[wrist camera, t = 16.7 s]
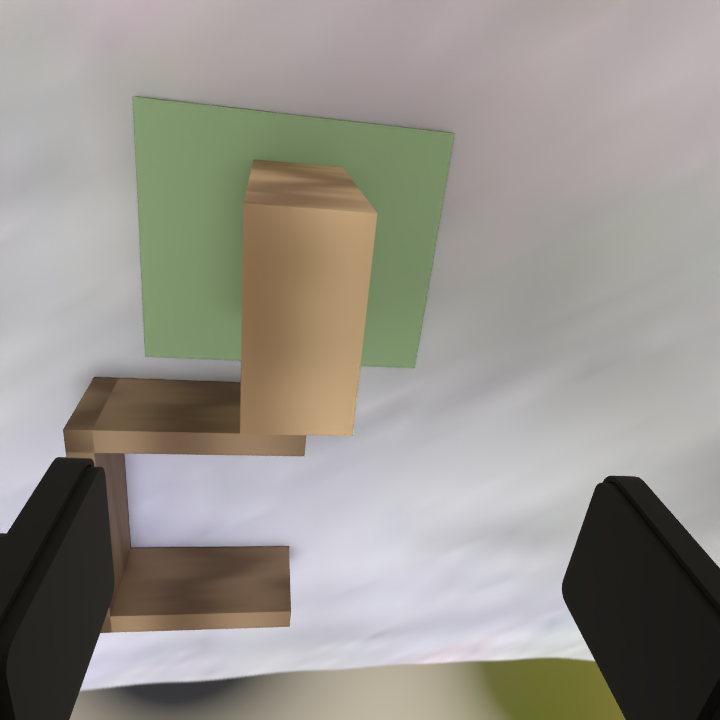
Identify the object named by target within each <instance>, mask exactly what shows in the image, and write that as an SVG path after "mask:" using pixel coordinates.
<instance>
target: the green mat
mask: <svg viewBox="0 0 720 720" xmlns="http://www.w3.org/2000/svg"><path fill="white" fill-rule="evenodd" d="M133 114H134V135H135V155H136V176H137V196H138V217H139V237H140V258H141V278H142V299H143V319H144V340H145V357H164V358H187V359H210V360H234V361H241V330H242V254H243V202H244V198H245V194H246V189H247V185H248V181H249V177H250V173H251V168H252V164H253V160H254V159H255V160H267V161H278V162H290V163H301V164H313V165H324V166H336V167H343V168H344V170H345V171H346V172H347V174H348V175H349V176H350V178H351V179H352V180H353V181H354V183H355V184H356V185H357V187H358V188H359V189H360V191H361V192H362V193H363V195H364V196H365V197H366V199H367V200H368V201H369V203H370V204H371V205H372V207H373V208H374V209H375V211H376V212H377V221H376V230H375V239H374V248H373V257H372V266H371V275H370V284H369V294H368V303H367V312H366V321H365V330H364V339H363V348H362V357H361V366H373V367H397V368H415V363H416V357H417V351H418V345H419V339H420V333H421V328H422V322H423V316H424V310H425V304H426V298H427V292H428V286H429V281H430V275H431V269H432V263H433V257H434V251H435V245H436V239H437V234H438V228H439V222H440V216H441V210H442V204H443V198H444V192H445V187H446V181H447V175H448V169H449V163H450V157H451V151H452V145H453V140H454V133H450V132H441V131H433V130H424V129H415V128H406V127H398V126H389V125H380V124H371V123H363V122H354V121H345V120H336V119H328V118H319V117H310V116H301V115H293V114H284V113H275V112H266V111H258V110H249V109H240V108H231V107H223V106H214V105H205V104H197V103H188V102H179V101H170V100H162V99H153V98H144V97H133Z"/></svg>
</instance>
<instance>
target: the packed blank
mask: <svg viewBox="0 0 720 720" xmlns="http://www.w3.org/2000/svg"><path fill="white" fill-rule="evenodd" d="M376 221H377V212H376V211H375V209H374V208H373V207H372V205H371V204H370V203H369V201H368V200H367V199H366V197H365V196H364V195H363V193H362V192H361V191H360V189H359V188H358V187H357V185H356V184H355V183H354V181H353V180H352V179H351V178H350V176H349V175H348V174H347V172H346V171H345V170H344V168H343V167H336V166H324V165H313V164H301V163H290V162H278V161H267V160H255V159H254V160H253V164H252V168H251V173H250V177H249V181H248V185H247V189H246V194H245V198H244V202H243V254H242V330H241V405H240V434H244V435H336V436H353V429H354V420H355V411H356V402H357V393H358V384H359V375H360V366H361V357H362V348H363V339H364V330H365V321H366V312H367V303H368V294H369V284H370V275H371V266H372V257H373V248H374V239H375V230H376Z"/></svg>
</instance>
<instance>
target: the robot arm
mask: <svg viewBox="0 0 720 720" xmlns="http://www.w3.org/2000/svg"><path fill="white" fill-rule="evenodd" d="M113 592H114V567H113V556H112V545H111V533H110V522H109V510H108V499H107V487H106V476H105V470H104V468H103V467H95V465H94V462H93V460H92V459H91V458H66V457H58V458H56V459H55V460H54V461H53V462H52V464H51V465H50V467H49V468H48V470H47V472H46V473H45V475H44V476H43V478H42V479H41V481H40V482H39V484H38V486H37V487H36V489H35V490H34V492H33V493H32V495H31V497H30V498H29V500H28V501H27V503H26V504H25V506H24V507H23V509H22V511H21V512H20V514H19V515H18V517H17V518H16V520H15V522H14V523H13V525H12V526H11V528H10V529H9V531H8V533H7V534H6V533H0V720H69V719H70V716H71V713H72V711H73V708H74V705H75V702H76V699H77V696H78V694H79V691H80V688H81V685H82V682H83V680H84V677H85V674H86V671H87V668H88V665H89V663H90V660H91V657H92V654H93V651H94V649H95V646H96V643H97V640H98V637H99V634H100V632H101V629H102V626H103V623H104V620H105V618H106V615H107V612H108V609H109V606H110V603H111V600H112V597H113ZM562 594H563V598H564V601H565V603H566V605H567V607H568V609H569V611H570V613H571V615H572V617H573V619H574V621H575V622H576V624H577V626H578V628H579V630H580V632H581V634H582V636H583V638H584V640H585V642H586V644H587V646H588V648H589V649H590V651H591V653H592V655H593V657H594V659H595V661H596V663H597V665H598V667H599V668H600V671H601V672H602V674H603V676H604V678H605V680H606V682H607V684H608V686H609V688H610V690H611V692H612V694H613V696H614V698H615V699H616V702H617V703H618V705H619V707H620V709H621V711H622V713H623V715H624V717H625V719H626V720H720V568H719V567H718V566H717V565H716V563H715V562H714V561H713V560H712V559H711V558H710V557H709V555H708V554H707V553H706V552H705V551H704V550H703V549H702V547H701V546H700V545H699V544H698V543H697V542H696V541H695V539H694V538H693V537H692V536H691V535H690V534H689V533H688V531H687V530H686V529H685V528H684V527H683V526H682V525H681V523H680V522H679V521H678V520H677V519H676V518H675V516H674V515H673V514H672V513H671V512H670V511H669V510H668V508H667V507H666V506H665V505H664V504H663V503H662V502H661V500H660V499H659V498H658V497H657V496H656V495H655V494H654V492H653V491H652V490H651V489H650V488H649V487H648V486H647V484H646V483H645V482H644V481H643V480H642V479H641V478H639V477H634V476H608V477H606V478H605V479H604V481H603V483H599V484H598V485H597V486H596V488H595V490H594V493H593V496H592V499H591V502H590V504H589V507H588V510H587V513H586V516H585V519H584V522H583V525H582V527H581V530H580V533H579V536H578V539H577V542H576V545H575V548H574V551H573V553H572V556H571V559H570V562H569V565H568V568H567V571H566V574H565V576H564V579H563V583H562Z"/></svg>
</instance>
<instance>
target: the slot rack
mask: <svg viewBox="0 0 720 720" xmlns="http://www.w3.org/2000/svg"><path fill="white" fill-rule="evenodd" d="M240 405H241V383H237V382H210V381H183V380H155V379H128V378H101V377H94V379H93V380H92V382H91V384H90V385H89V387H88V389H87V390H86V392H85V394H84V395H83V397H82V399H81V400H80V402H79V404H78V405H77V407H76V409H75V411H74V412H73V414H72V416H71V417H70V419H69V421H68V422H67V424H66V426H65V427H64V429H63V433H64V441H65V449H66V458H91V459H92V460H93V462H94V465H95V467H103V468H104V470H105V476H106V487H107V499H108V510H109V522H110V533H111V545H112V556H113V567H114V592H113V597H112V600H111V603H110V606H109V609H108V612H107V615H106V618H105V620H104V623H103V626H102V629H101V632H100V633H111V632H141V631H172V630H202V629H233V628H264V627H290V616H291V599H290V568H289V547H189V548H131V542H130V528H129V514H128V500H127V486H126V472H125V458H124V453H135V454H196V455H258V456H304V454H305V443H306V435H244V434H240Z"/></svg>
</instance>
